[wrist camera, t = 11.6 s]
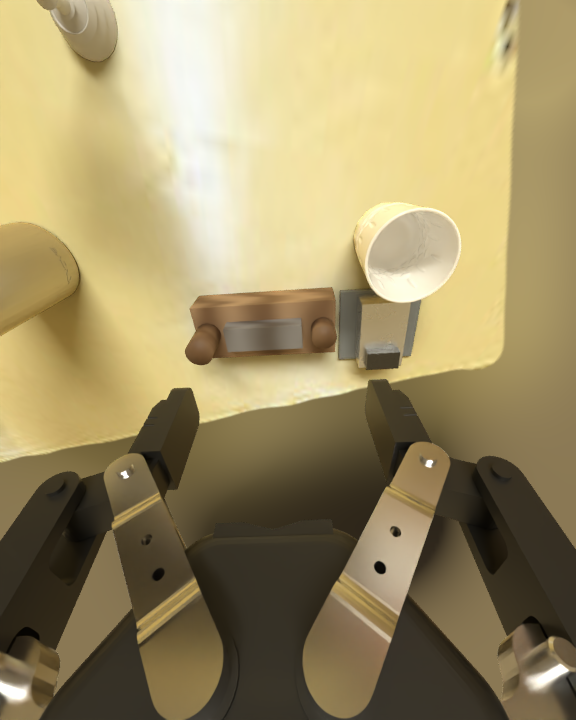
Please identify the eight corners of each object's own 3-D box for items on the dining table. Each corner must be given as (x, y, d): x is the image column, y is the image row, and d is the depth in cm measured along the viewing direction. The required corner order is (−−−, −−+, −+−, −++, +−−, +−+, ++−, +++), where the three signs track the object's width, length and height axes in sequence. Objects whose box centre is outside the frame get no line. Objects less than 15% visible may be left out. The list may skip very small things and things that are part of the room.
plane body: (211, 342, 42) (193, 379, 35) (199, 296, 38) (176, 326, 31) (331, 336, 41) (339, 372, 34) (332, 287, 37) (340, 317, 30)
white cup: (402, 275, 36) (434, 310, 27) (339, 263, 35) (353, 294, 27) (432, 203, 31) (480, 219, 23) (360, 188, 31) (384, 198, 22)
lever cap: (358, 294, 37) (364, 308, 33) (403, 291, 36) (414, 305, 33) (354, 355, 42) (360, 373, 38) (394, 353, 41) (403, 371, 38)
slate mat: (338, 357, 42) (339, 359, 42) (340, 290, 37) (340, 292, 36) (409, 353, 42) (410, 355, 41) (421, 285, 36) (423, 287, 36)
